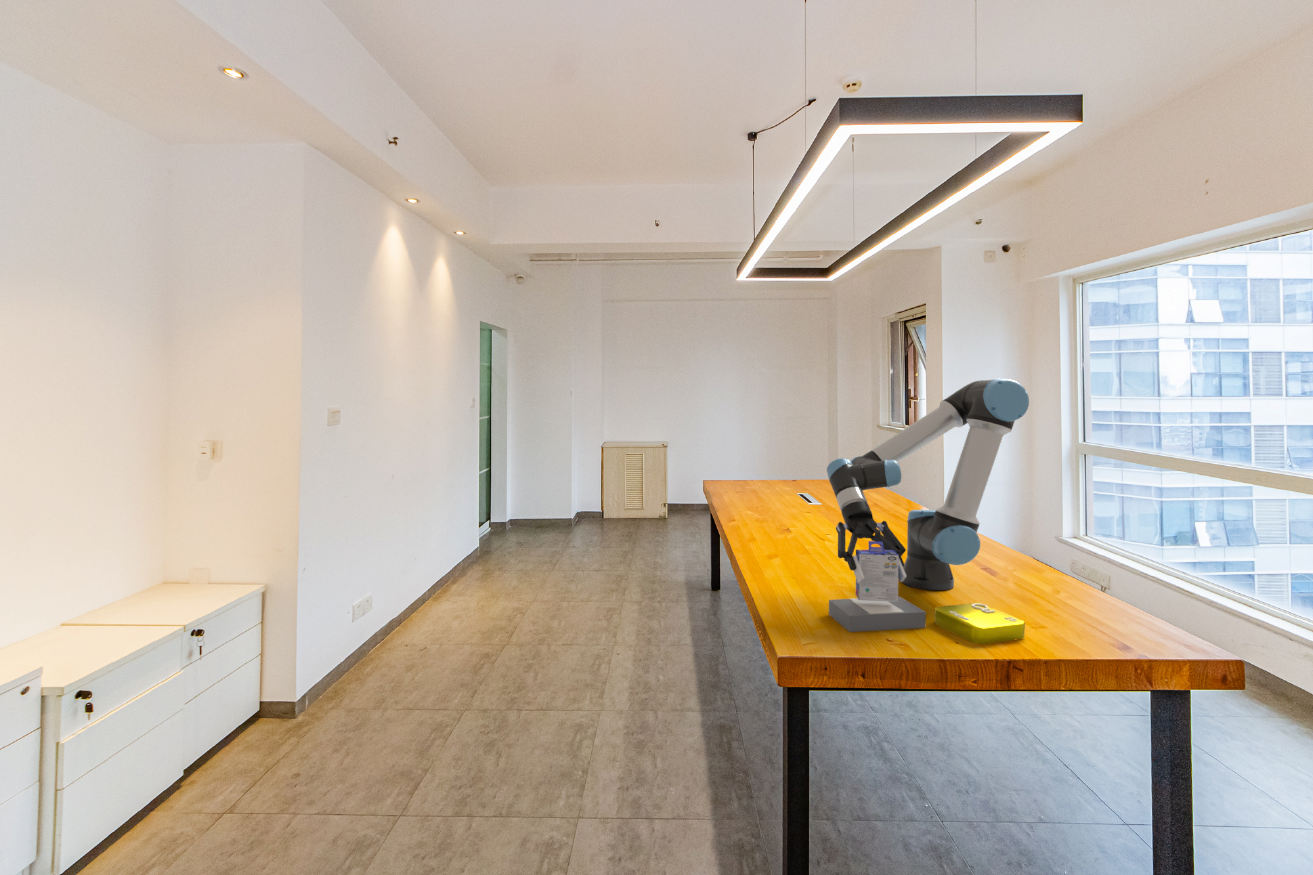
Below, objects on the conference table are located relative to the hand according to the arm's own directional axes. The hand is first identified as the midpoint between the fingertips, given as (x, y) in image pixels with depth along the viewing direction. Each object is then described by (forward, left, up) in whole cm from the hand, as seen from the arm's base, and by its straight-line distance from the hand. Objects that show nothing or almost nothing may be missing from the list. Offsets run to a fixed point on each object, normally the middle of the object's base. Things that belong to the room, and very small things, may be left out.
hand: (882, 580), depth 147 cm
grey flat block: (0, -3, -12) cm, 12 cm away
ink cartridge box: (0, -3, -6) cm, 7 cm away
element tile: (-22, +6, -12) cm, 26 cm away
